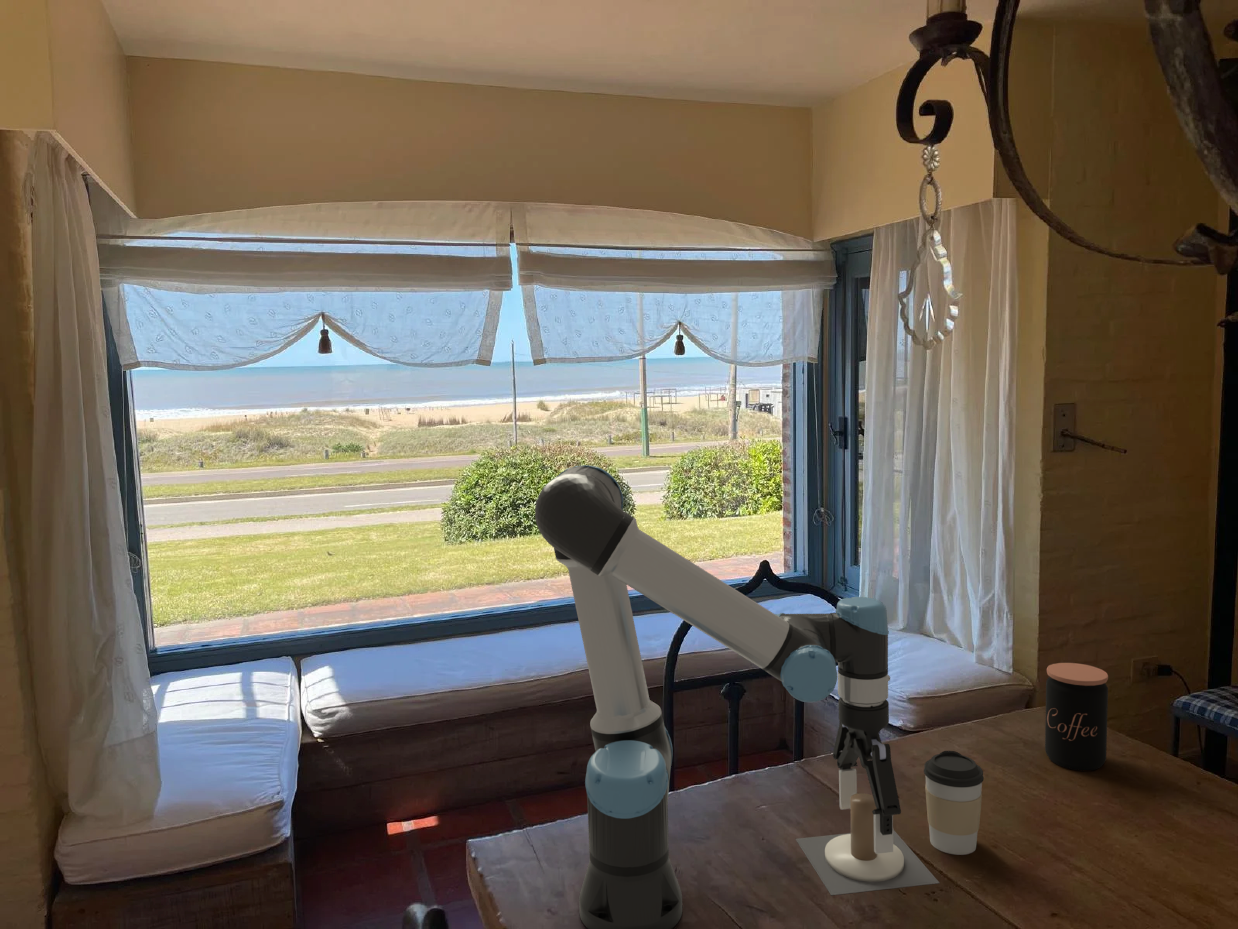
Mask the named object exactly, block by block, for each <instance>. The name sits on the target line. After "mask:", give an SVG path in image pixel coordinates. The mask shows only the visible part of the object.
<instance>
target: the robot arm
mask: <svg viewBox="0 0 1238 929" xmlns="http://www.w3.org/2000/svg"><path fill="white" fill-rule="evenodd" d="M623 508H624V496H623V491H622V489H621V487H620V484H619V483H618V481H617V480H616V479H615V477H614V476H613V475H612V474H611V473H609V472H608V471H607V470H605V469H603V468H601V467H598V466H595V465H586V464H584V465H576V466H573V467H568V468H566V469H564V470H563V471H561V472H560V473H559V474H558V475H557V476H555V477H554V478H553V479H552V480H549V481H548V483H546V485H545V486H543V488H542V489H541V491H540V492H539V494H538V497H537V499H536V503H535V507H534V514H535V515H534V517H535V518H534V519H535V523H536V526H537V529H538V531H539V532H540V534H541V536H542V538H543V539H544V540H545V541H546V542H547V543H548V544H549V545H550V546H552V548H553V551H554V555H555V560H556V561H557V562H558V563H560V564H562V565H564V566H565V567H566V568H567V571H568V575H569V580H570V586H571V590H572V596H573V599H574V606H575V610H576V614H577V618H578V624H579V628H580V630H579V631H580V634H581V639H582V643H583V644H582V645H583V648H584V654H585V659H586V662H587V667H588V673H589V677H590V682H591V683H590V684H591V688H592V691H593V692H592V693H593V697H594V702H595V707H596V712H595V714H594V715H593V717H592V718H591V719H590V723H589V724H590V730H591V735H592V736H591V737H592V741H593V745H594V750H595V752H594V753H592V755H591V756H590V758H589V759H588V761H587V766H586V774H585V780H584V781H585V782H584V784H585V790H586V799H587V800H586V801H587V823H588V824H587V825H588V826H587V827H588V828H587V829H588V850H589V851H588V852H589V854H588V855H589V861H588V864H587V868H586V872H585V876H584V879H583V882H582V885H581V889H580V892H579V898H578V903H579V907H578V908H579V910H578V911H579V918H580V920H581V922H582V924H583V925H584V926H585V927H586V929H673V928H675V927H676V925H677V924H678V923H679V922H680V920H681V918H682V916H683V895H682V894H683V893H682V889H681V886H680V884H679V881H678V878H677V876H676V873H675V870H674V868H673V865H672V862H671V860H670V852H669V851H670V849H669V792H670V781H671V780H670V778H671V768H672V767H671V766H672V764H673V763H672V762H673V756H674V755H673V754H674V752H673V750H674V749H673V744H672V739H671V737H670V734H669V731H668V730H667V728H666V726H665V723H664V718H663V714H662V712H663V711H662V709H661V707H660V706H659V705H658V704H657V703H655V702H653V701H652V700H650V697H649V696H650V695H649V690H648V686H647V680H646V676H645V669H644V666H643V660H642V655H641V651H640V650H641V649H640V645H639V641H638V636H637V630H636V625H635V621H634V620H635V619H634V615H633V609H632V606H631V605H632V604H631V600H630V595H629V591H628V587H630V588H631V589H633V590H634V591H637V593H639V594H641V595H643V596H644V597H646V598H648V599H649V600H651V601H652V602H654V603H655V604H657V605H659V606H660V607H662V608H663V609H665V610H667V611H668V612H670V613H671V614H673V615H675V616H676V617H678V618H679V619H681V620H682V621H684V622H686V623H687V624H688V625H689V624H690V625H691V626H692V627H694V628H695V629H697V630H698V631H701V632H702V633H703V634H706V635H707V636H709V637H710V638H711V639H713V640H715V641H716V642H718V643H719V644H721V645H723V646H724V647H726V648H728V649H729V650H730V651H732V652H734V653H735V654H737V655H739V656H740V657H742V658H744V659H746V660H747V661H748V662H750V663H752V664H754V665H755V666H757V667H758V668H760V669H762V670H763V671H765V672H766V673H768V674H769V675H771V676H772V677H773V678H775V679H777V680H778V681H780V682H781V684H782V686H783V687H784V689H786V691H787V692H788V693H789V694H790V696H791V697H792V698H794V699H796V700H798V701H799V702H804V703H817V702H820V701H823V700H824V699H826V698H827V697H829V695H831V694H832V693H833V691H834V690H835V687H836V685H837V694H838V696H839V698H838V702H837V703H838V720H839V722H838V723H839V724H838V729H837V734H836V739H835V742H834V745H833V746H834V748H833V752H832V758H833V760H834V761H836V760H837V761H836V766H837V768H838V784H839V785H838V786H839V787H838V788H839V789H838V791H839V792H838V793H839V794H838V795H839V797H838V799H839V803H838V804H839V809H840V810H851V799H850V798H851V796H852V795H854V794H858V793H857V791H858V790H857V789H858V788H857V787H858V786H857V783H858V782H857V781H858V780H857V769H856V768H855V767H858V766H859V765H858V763H857V761H858V759H859V761H860V764H861V765H860V766H861V767H862V768H864V769H865V772H866V776H867V780H868V783H869V787H870V790H871V795H872V796H873V798H874V802H875V806H876V809H874V810H873V811H872V813H873V814H874V852H875V853H876V854H880V853H888V852H893V830H894V816H896V815H901V814H902V810H901V804H900V799H899V794H898V790H897V783H896V779H895V774H894V773H895V772H894V769H893V764H892V759H891V758H892V753H891V746H890V744H889V743H882V739H881V736H880V735H881V734H880V732H881V730H883V729H884V728H887V726H888V724H889V722H890V717H889V716H890V713H889V710H890V709H889V708H890V706H889V705H890V704H889V701H888V698H889V682H890V681H891V676H890V674H889V635H890V632H889V626H888V625H889V624H888V623H889V622H888V613H887V612H888V610H887V607H886V605H885V604H884V603H883V602H882V601H880V600H879V599H876V598H871V597H867V596H866V597H865V596H864V597H863V596H852V597H844V598H842V599H840V600H838V602H837V604H836V609H835V612H830V613H784V612H780V613H774V612H772V611H771V610H769V609H767V608H766V607H764V606H762V605H761V604H759V603H758V602H757V601H754V600H753V599H751V598H750V597H749V596H747V595H745V594H743V593H742V592H740V591H739V590H737V589H736V588H734V587H732V586H730V585H729V584H728V583H726V582H724V581H722V580H721V579H719V578H717V577H715V575H713V574H711V573H709V572H708V571H707V570H705V569H703V568H701V567H700V566H698V565H697V564H695V563H693V561H690V560H689V559H687V558H686V557H684V556H682V555H681V554H679V553H677V552H676V551H675V550H673V549H671V548H670V547H668V546H667V545H665V544H664V543H662V542H660V541H659V540H657V539H655V538H653V537H652V536H651V535H649V534H647V533H646V532H644V531H642V530H641V529H639V527H638V523H637V519H636V518H635V517H633V516H632V515H630V514H629V513H627V512H625V511H624V510H623Z"/></svg>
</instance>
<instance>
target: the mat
mask: <svg viewBox="0 0 1238 929" xmlns="http://www.w3.org/2000/svg"><path fill="white" fill-rule="evenodd" d="M846 834H851V832H848V833H838V834H830V835H820V836H809V837H799V838H798V837H797V838H795V841H796V842H797V844H798V846H799V847H800V849H801V850H802V852H803V853H804V855H805V857H806V858H807V860H808V861H809V863H810V865H811V866H812V868H813V870H814V871H815V872H816V874H817V876H818V877H819V879H820V880H821V882H822V884H823V885H824V887H825V889H826V890H827V892H828V893H829V894H830V896H838V895H846V894H855V893H856V894H857V893H864V892H873V891H874V892H875V891H881V890H884V891H885V890H891V889H900V888H908V887H909V888H910V887H916V886H917V887H918V886H927V885H937V884H940V881H939V880H938V879H937V878H936V877H935V876H934V875H933V873H932V872H931V871H930V870H929V868H927V866H925V864H924V863H923V862H922V861H921V860H920V858H919V857H918V856H917V854H915V853H914V852H913V850H912V849H911V848H910V847H909V845H907V843H906V842H905V841H904V839H902V838H901V836H900V835H899V834H898V833H897V832H896V831H895V830H894V829H893V844H894V845H895V846H897V847H898V848H899V849H900V850H901V852H902V854H903V857H904V868H903V870H902V872H901V873H900V874H899V875H898V876H896V877H894V878H892V879H889V880H885V881H878V882H867V881H859V880H855V879H851V878H848V877H845V876H843V875H841V874H839V873H837V872H836V871H834V870H833V869H832V868H831V867H830V866H829V865H828V864H827V862H826V859H825V847H826V845H827V843H828V842H829V841H830V840H832V839H833V838H835V837H838V836H841V835H846Z"/></svg>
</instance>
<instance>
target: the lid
mask: <svg viewBox="0 0 1238 929" xmlns="http://www.w3.org/2000/svg"><path fill="white" fill-rule="evenodd" d="M850 799H851V809H850V833H851V834H846V833H845V834H846V835H841V836H838V837H835V838H833V839H832V840H830V841H829V842H828V843H827V845H826V847H825V859H826V862H827V864H828V865H829V866H830V867H831V868H832V869H833V870H834V871H836V872H837V873H839V874H841V875H843V876H845V877H848V878H851V879H855V880H859V881H867V882H878V881H885V880H889V879H892V878H894V877H896V876H898V875H899V874H900V873H901V872H902V870H903V868H904V857H903V854H902V852H901V850H900V849H899V848H898V847H897V846H895V845H894V844H893V852H888V853H880V854H876V853H875V852H874V814H873V813H872V811H873V810H874V809H876V806H875V802H874V798H873V795H872V794H869V793H859V792H858V793H857V794H854V795H852V796H851V798H850Z"/></svg>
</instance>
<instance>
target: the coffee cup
mask: <svg viewBox="0 0 1238 929" xmlns="http://www.w3.org/2000/svg"><path fill="white" fill-rule="evenodd" d="M923 766H924V767H923V773H924V774H923V775H925V776H924V777H925V785H924V787H925V801H926V812H927V814H926V815H927V822H928V828H929V841H930V845H932V846H933V847H934V848H935V849H937V850H938V851H939V852H940V851H941V852H943V853H946V854H949V855H957V856H959V855H961V856H964V855H969V854H972V853H974V852H975V851H976V849H977V843H978V842H977V840H978V831H979V829H980V822H981V821H980V819H981V812H982V810H981V809H982V801H983V800H982V797H983V791H982V789H983V788H982V786H983V782H984V779H985V778H984V770H983V768H982V767H981V766H979V765H978V764H977V763H976V761H974V759H972V758H971V757H969V756H966V755H963V754H961V753H960V752H958V751H955V750H944V751H941V752H939V753H937V754H935V755H933V756H931V758H930V759H928V760H927V761H926V762H925V763H924V765H923Z"/></svg>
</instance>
